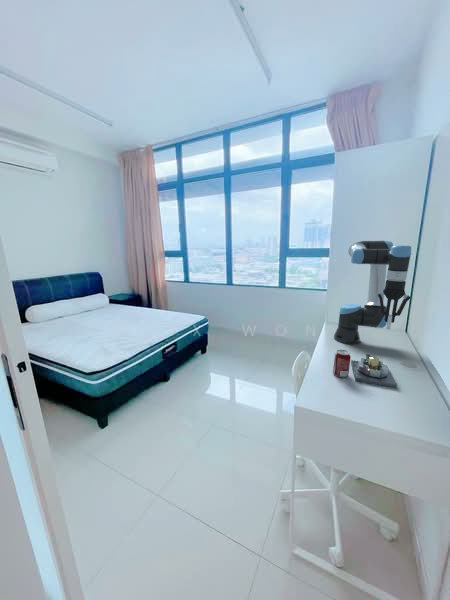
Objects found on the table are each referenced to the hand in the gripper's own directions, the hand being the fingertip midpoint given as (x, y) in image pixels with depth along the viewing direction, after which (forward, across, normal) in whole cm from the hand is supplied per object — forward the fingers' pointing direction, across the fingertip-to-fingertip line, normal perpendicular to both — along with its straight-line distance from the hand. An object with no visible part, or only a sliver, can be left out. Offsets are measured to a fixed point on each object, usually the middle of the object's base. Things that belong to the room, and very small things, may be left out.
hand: (388, 328), depth 118 cm
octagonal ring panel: (+19, -5, -5) cm, 21 cm away
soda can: (+22, -18, -16) cm, 32 cm away
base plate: (+22, -4, -9) cm, 24 cm away
